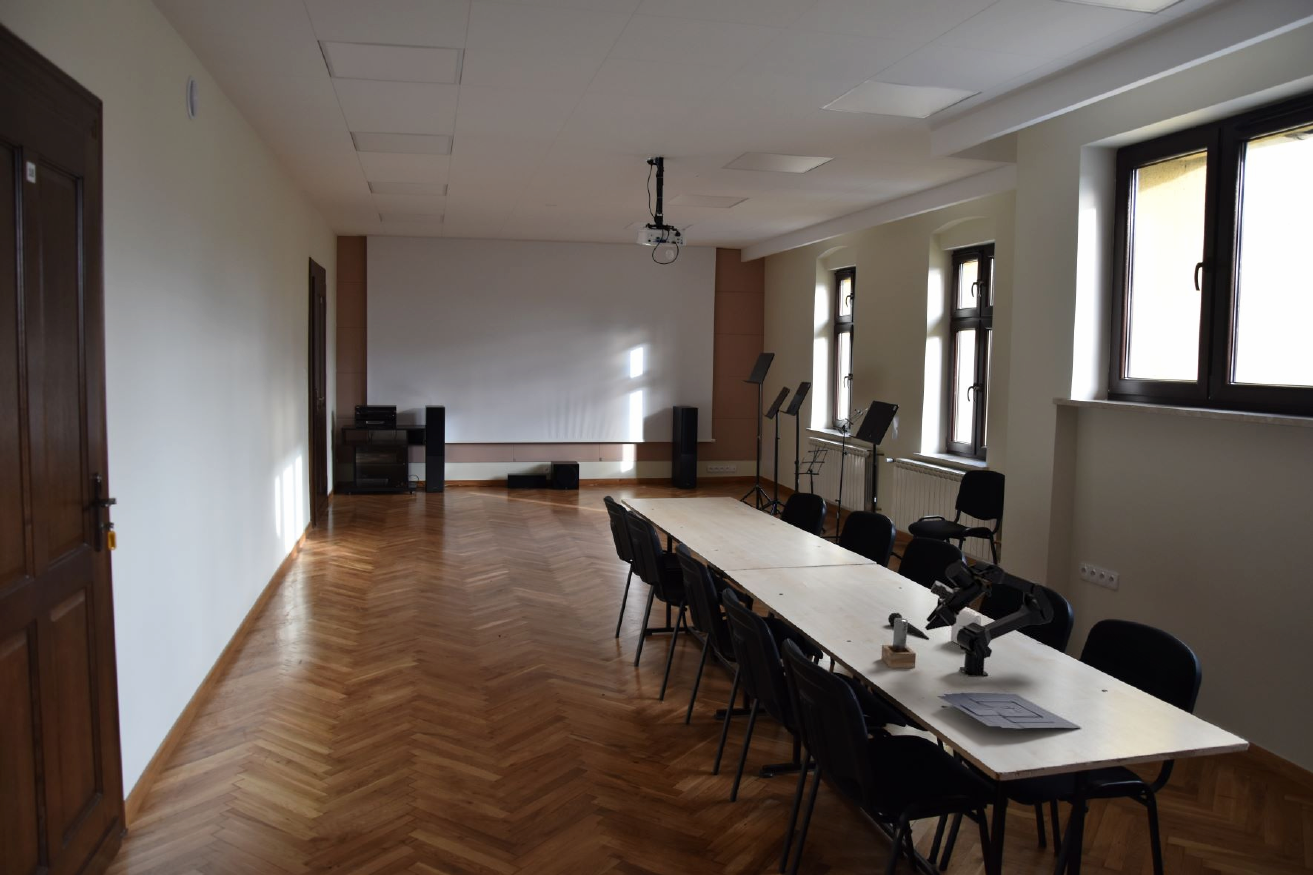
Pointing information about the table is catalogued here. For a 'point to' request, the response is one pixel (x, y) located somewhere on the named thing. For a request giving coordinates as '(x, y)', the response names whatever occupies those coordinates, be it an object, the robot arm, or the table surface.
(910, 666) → the socket block
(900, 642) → the pin
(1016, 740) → the table surface
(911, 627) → the microphone
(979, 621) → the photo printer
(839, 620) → the table surface
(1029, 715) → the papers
